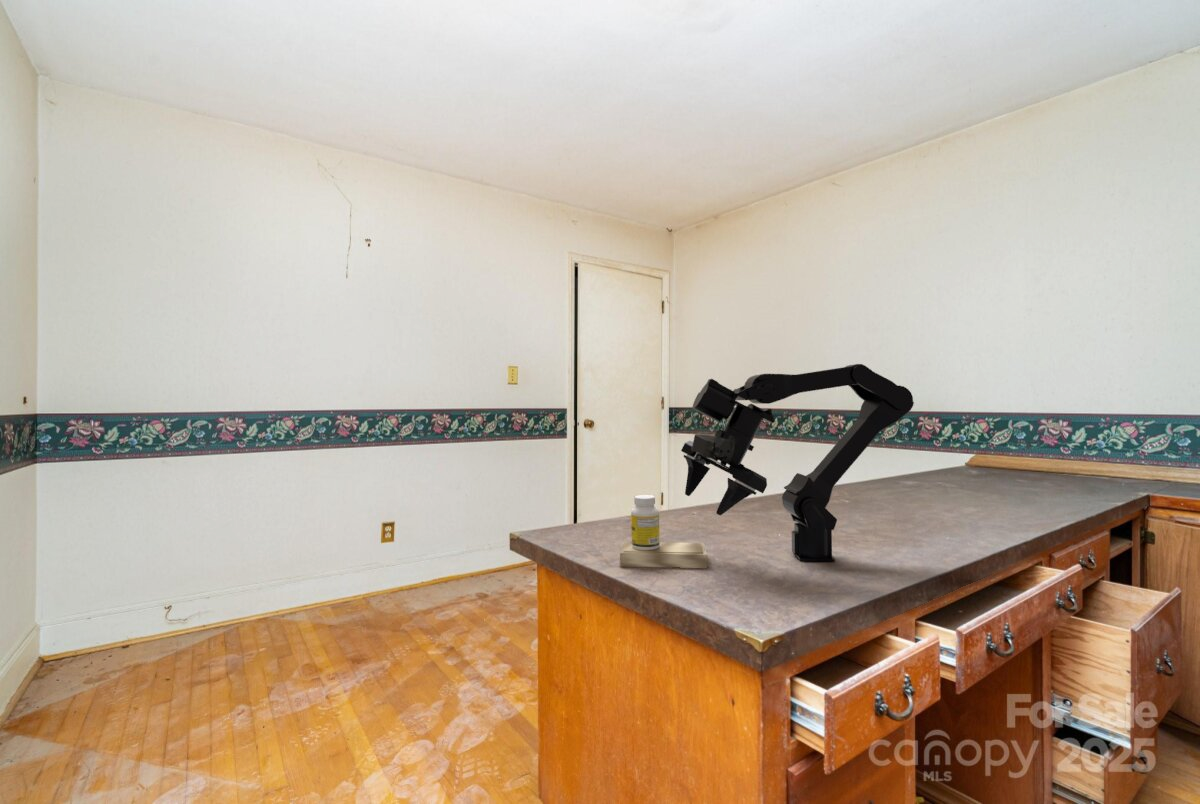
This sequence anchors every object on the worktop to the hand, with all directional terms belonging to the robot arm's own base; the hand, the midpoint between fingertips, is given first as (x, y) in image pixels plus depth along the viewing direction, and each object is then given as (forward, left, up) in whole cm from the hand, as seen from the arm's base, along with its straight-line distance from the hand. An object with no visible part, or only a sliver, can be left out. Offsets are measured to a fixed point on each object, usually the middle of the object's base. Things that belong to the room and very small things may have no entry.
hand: (702, 504), depth 105 cm
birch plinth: (+8, +1, -11) cm, 13 cm away
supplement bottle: (+11, +2, -8) cm, 14 cm away
